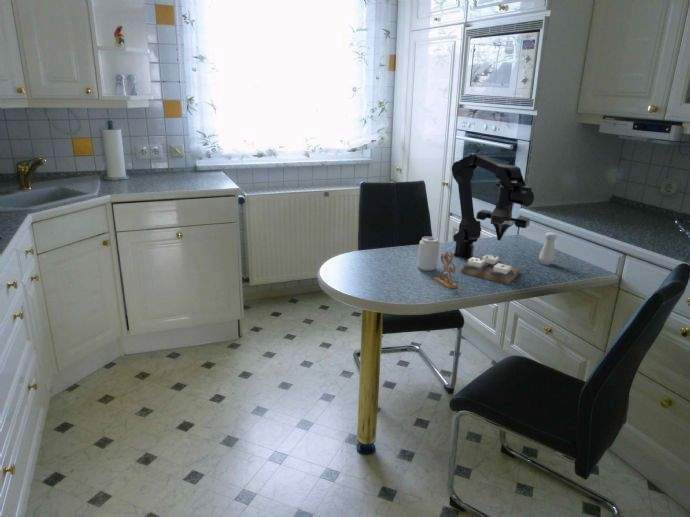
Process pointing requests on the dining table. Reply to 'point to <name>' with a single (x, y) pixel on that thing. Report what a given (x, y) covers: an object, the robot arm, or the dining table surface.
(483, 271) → the board
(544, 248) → the salt shaker
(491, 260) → the tile two
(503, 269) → the tile one
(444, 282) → the figurine on base
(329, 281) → the dining table surface
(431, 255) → the can
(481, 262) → the tile three
